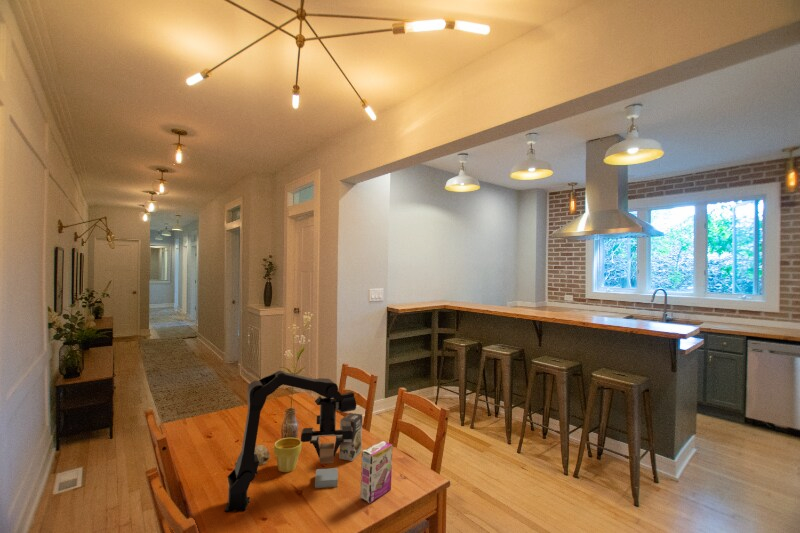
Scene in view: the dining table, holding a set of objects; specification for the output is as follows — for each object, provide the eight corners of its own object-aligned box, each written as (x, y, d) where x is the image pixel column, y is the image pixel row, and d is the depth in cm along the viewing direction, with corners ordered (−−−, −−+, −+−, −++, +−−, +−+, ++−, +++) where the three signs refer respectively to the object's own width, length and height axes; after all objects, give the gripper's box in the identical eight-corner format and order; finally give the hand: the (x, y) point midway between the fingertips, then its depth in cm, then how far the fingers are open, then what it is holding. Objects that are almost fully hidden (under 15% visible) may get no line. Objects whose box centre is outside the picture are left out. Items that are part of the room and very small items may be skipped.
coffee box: (352, 461, 152) (353, 422, 152) (338, 458, 154) (339, 419, 154) (362, 451, 160) (362, 414, 160) (348, 449, 162) (349, 412, 162)
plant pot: (299, 459, 153) (300, 435, 153) (302, 472, 143) (303, 446, 143) (273, 463, 149) (273, 439, 149) (274, 477, 139) (274, 450, 139)
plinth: (337, 486, 134) (337, 479, 134) (314, 488, 132) (314, 481, 132) (337, 474, 142) (337, 467, 142) (316, 476, 140) (316, 469, 140)
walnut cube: (333, 462, 135) (333, 448, 135) (319, 463, 134) (319, 449, 134) (333, 455, 140) (333, 442, 140) (320, 456, 139) (320, 443, 139)
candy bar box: (370, 504, 124) (371, 455, 124) (359, 498, 127) (360, 450, 127) (392, 490, 132) (393, 443, 133) (381, 484, 135) (382, 439, 136)
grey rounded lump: (255, 477, 145) (263, 460, 144) (234, 463, 147) (242, 446, 146) (269, 464, 155) (276, 448, 154) (249, 451, 157) (257, 435, 156)
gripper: (352, 405, 147) (351, 445, 147) (304, 407, 144) (302, 448, 144) (353, 416, 136) (352, 459, 136) (301, 418, 133) (300, 462, 133)
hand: (326, 456), depth 137 cm, fingers closed on walnut cube, 5 cm apart
